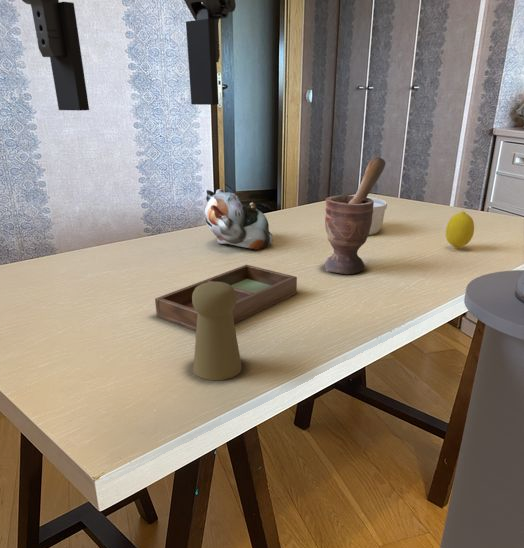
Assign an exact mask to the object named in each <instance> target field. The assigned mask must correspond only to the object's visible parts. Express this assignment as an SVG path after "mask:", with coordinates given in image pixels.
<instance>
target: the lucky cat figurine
mask: <svg viewBox="0 0 524 548" xmlns="http://www.w3.org/2000/svg"><path fill="white" fill-rule="evenodd" d="M205 197H206V198H205V200H206V206H205V209H204V215H205V223H206V226H207V228H209V229H210V230H211V232H212V233H213V234H214V236H216V242H217V244H218V245H231V246H237V247H241V248H247V249H249V250H254V251H257V250H258V251H259V250H261V249H266V248H267V246H269V245H272V243H273V240H274V239H273V238H274V235H273V233H272V232H270V228H269V227H270V225H269V220H268V219H267V217H266V215H265V214H264V213H263V212H262V211H261V210H259V209H258V208H257V204H256V203H254V202H253V201H251V202H250V203H249V204H248V205H246V204H243V203H242V201H241V199H240V198H239V196H238V194H236V193H233V192H225V191H224V189H222V188H219V189H216V191H215V192H214V191H212V190H209V189H207V190H206V196H205Z"/></svg>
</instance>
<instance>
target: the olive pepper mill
mask: <svg viewBox="0 0 524 548" xmlns="http://www.w3.org/2000/svg"><path fill="white" fill-rule="evenodd" d="M192 302H193V306H194V309H195V310H196V311H197V313H198V316H197V329H196V331H195V342H194V343H195V344H194V354H193V355H194V357H193V369H192V370H193V373H194V374H195V375H196V376H197V377H199V378H201V379H204V380H206V381H207V380H208V381H223V380H225V381H226V380H228V379H232V378H235V377H236V376H237V375H239V374H240V373H241V371H242V368H243V367H242V361H241V355H240V349H239V343H238V338H237V332H236V326H235V324H234V319H233V313H232V311H233V310H234V308H235V306H236V302H237V296H236V293H235V290H234V289H233V287H232V286H231V285H229V284H227V283H224V282H207V283H203V284H201V285H199V286H197V287H196V288H195V290H194V292H193V295H192Z"/></svg>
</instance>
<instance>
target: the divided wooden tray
mask: <svg viewBox="0 0 524 548" xmlns="http://www.w3.org/2000/svg"><path fill="white" fill-rule="evenodd" d="M207 282H224V283H227V284H229V285H231V286H232V287H233V289H234V290H235V293H236V296H237V302H236V306H235V308H234V310H233V311H232V313H233V319H234V325H235V324H236V323H238V322H241V321H243V320H245V319H247V318H249V317H251V316H254V315H255V314H258V313H259V312H262V311H263V310H266V309H268V308H269V307H272V306H274V305H276V304H278V303H280V302H282V301H284V300H286V299H289V298H290V297H293V296H294V295H297V291H298V290H297V288H298V277H297V276H294V275H291V274H286V273H283V272H279V271H275V270H271V269H267V268H263V267H262V268H261V267H259V266H254V265H250V264H244V265H241V266H238V267H236V268H233V269H231V270H228V271H225V272H223V273H220V274H218V275H214V276H211V277H209V278H206V279H204V280H200V281H198V282H195V283H192V284H190V285H187V286H185V287H183V288H180V289H176V290H175V291H172V292H168V293H166V294H163V295H160V296H158V297H156V298H154V301H155V312H156V318H159V319H162V320H164V321H168V322H170V323H173V324H176V325H179V326H181V327H183V328H186V329H190V330H192V331H195V332H196V329H197V316H198V313H197V311H196V310H195V309H194V306H193V302H192V295H193V292H194V290H195V288H196V287H197V286H199V285H201V284H203V283H207Z"/></svg>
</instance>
